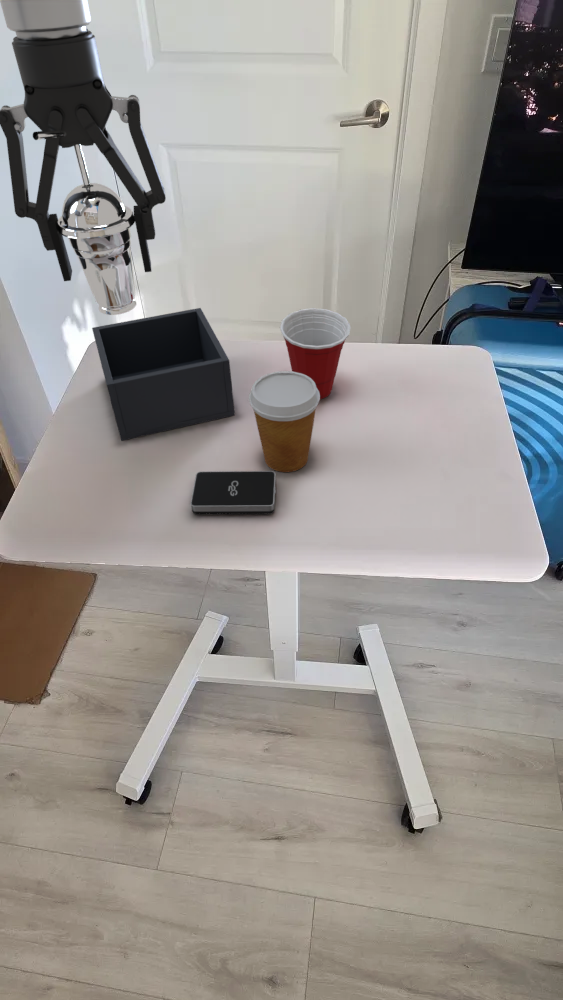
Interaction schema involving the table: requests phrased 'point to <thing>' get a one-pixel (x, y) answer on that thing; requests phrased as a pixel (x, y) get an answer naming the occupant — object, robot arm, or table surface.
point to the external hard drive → (234, 492)
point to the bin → (164, 372)
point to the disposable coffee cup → (285, 417)
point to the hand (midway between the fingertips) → (108, 271)
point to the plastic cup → (315, 344)
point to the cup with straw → (99, 237)
